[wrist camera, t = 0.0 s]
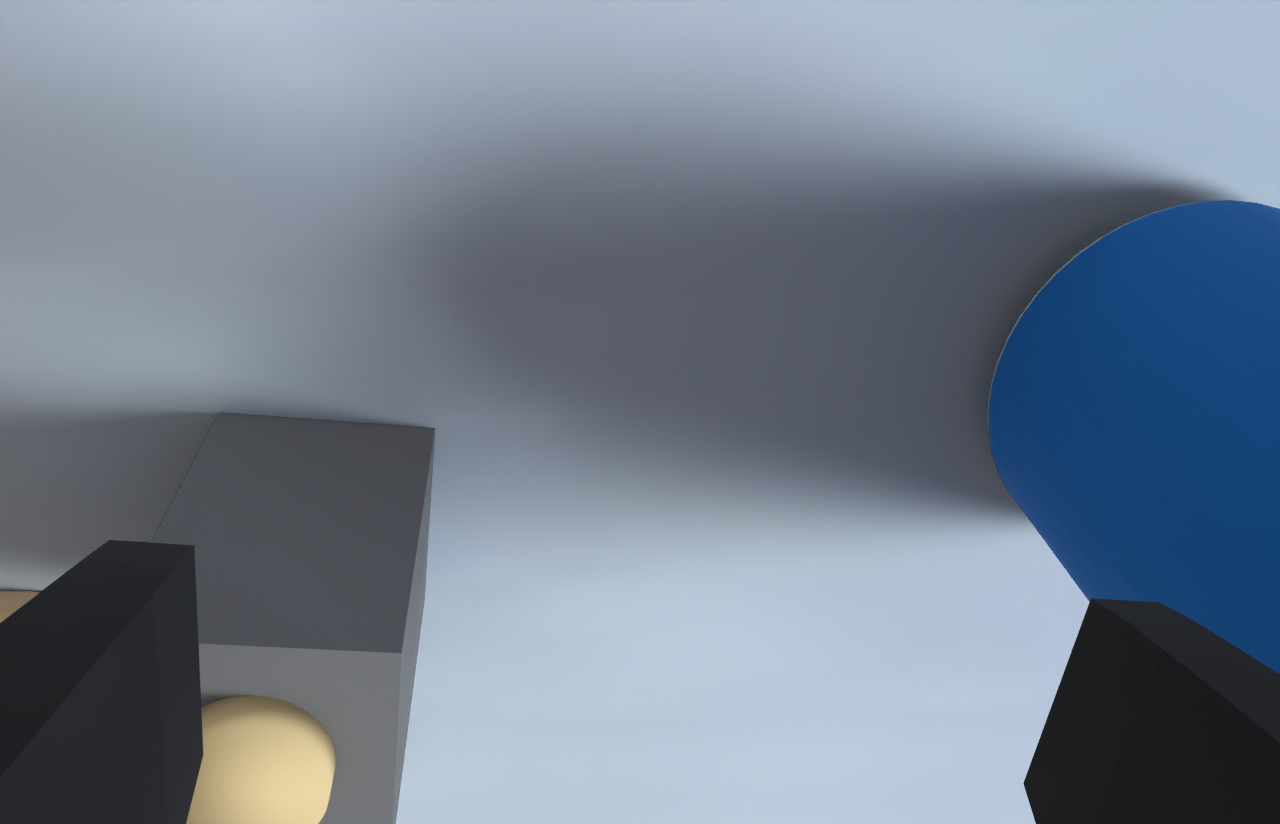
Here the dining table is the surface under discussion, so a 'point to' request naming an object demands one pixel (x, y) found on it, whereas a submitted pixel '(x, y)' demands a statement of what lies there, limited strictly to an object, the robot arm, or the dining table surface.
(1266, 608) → the beverage can
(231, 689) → the grey rectangular block
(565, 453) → the dining table surface
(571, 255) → the dining table surface
